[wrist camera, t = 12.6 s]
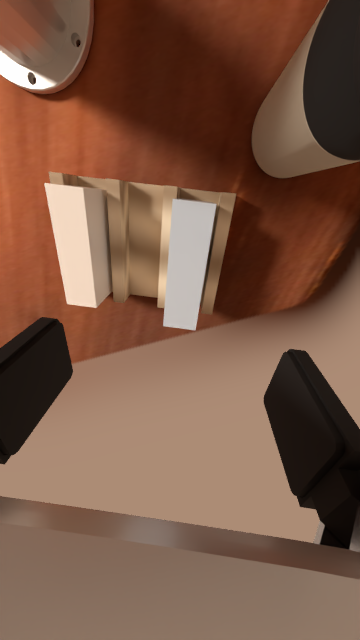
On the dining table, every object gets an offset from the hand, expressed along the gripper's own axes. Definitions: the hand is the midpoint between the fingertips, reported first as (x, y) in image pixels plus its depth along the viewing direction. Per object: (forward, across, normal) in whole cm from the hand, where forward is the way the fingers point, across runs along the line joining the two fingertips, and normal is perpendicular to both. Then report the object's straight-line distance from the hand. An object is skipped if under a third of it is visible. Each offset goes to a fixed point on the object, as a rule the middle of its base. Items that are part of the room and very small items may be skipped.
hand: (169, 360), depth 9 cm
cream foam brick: (+21, +12, 0) cm, 24 cm away
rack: (+22, +6, 0) cm, 23 cm away
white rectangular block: (+21, 0, 0) cm, 21 cm away
